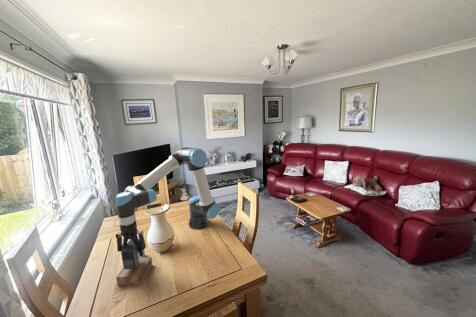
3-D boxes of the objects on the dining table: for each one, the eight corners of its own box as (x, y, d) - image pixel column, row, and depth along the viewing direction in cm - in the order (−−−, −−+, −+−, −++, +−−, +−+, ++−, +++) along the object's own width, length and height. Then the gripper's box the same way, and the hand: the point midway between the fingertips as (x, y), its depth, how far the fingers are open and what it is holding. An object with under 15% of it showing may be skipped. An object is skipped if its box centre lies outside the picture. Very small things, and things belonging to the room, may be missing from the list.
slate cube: (145, 255, 124) (144, 248, 123) (143, 260, 119) (142, 253, 118) (136, 256, 123) (135, 249, 122) (134, 262, 118) (133, 254, 117)
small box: (132, 255, 112) (129, 239, 110) (144, 255, 112) (141, 238, 110) (122, 269, 101) (120, 251, 99) (136, 268, 102) (133, 250, 100)
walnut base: (152, 264, 115) (151, 257, 114) (141, 284, 101) (139, 276, 100) (131, 265, 115) (130, 258, 114) (117, 285, 101) (116, 277, 100)
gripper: (149, 217, 106) (154, 256, 110) (113, 219, 106) (119, 257, 110) (143, 225, 98) (149, 265, 103) (104, 226, 98) (111, 267, 103)
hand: (133, 261), depth 107 cm, fingers closed on small box, 6 cm apart
